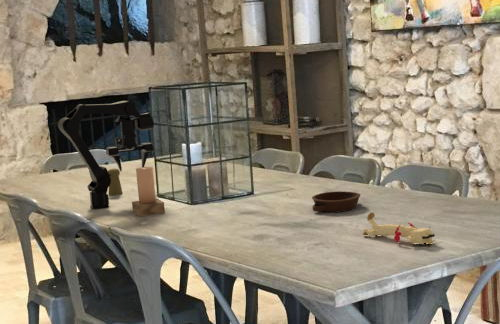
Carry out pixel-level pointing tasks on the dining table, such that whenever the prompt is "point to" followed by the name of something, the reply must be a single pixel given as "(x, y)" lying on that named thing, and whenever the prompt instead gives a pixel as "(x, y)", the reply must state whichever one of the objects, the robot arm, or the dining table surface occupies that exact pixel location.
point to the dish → (335, 201)
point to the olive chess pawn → (115, 182)
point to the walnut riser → (148, 208)
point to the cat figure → (400, 231)
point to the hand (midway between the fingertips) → (131, 169)
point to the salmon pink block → (145, 185)
